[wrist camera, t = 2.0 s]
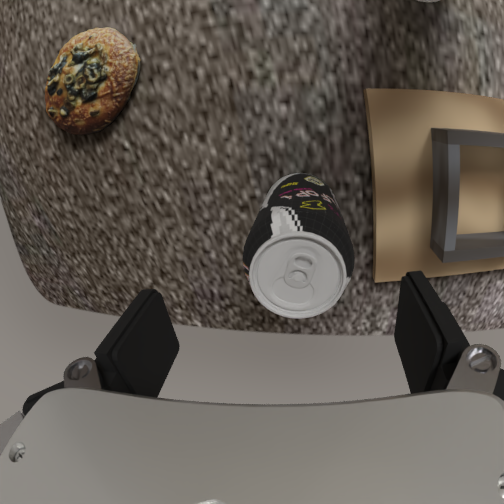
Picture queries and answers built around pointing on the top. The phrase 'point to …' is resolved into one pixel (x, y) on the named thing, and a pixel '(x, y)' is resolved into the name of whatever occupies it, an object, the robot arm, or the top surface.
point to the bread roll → (91, 81)
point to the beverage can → (298, 249)
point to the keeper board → (436, 182)
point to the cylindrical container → (428, 0)
